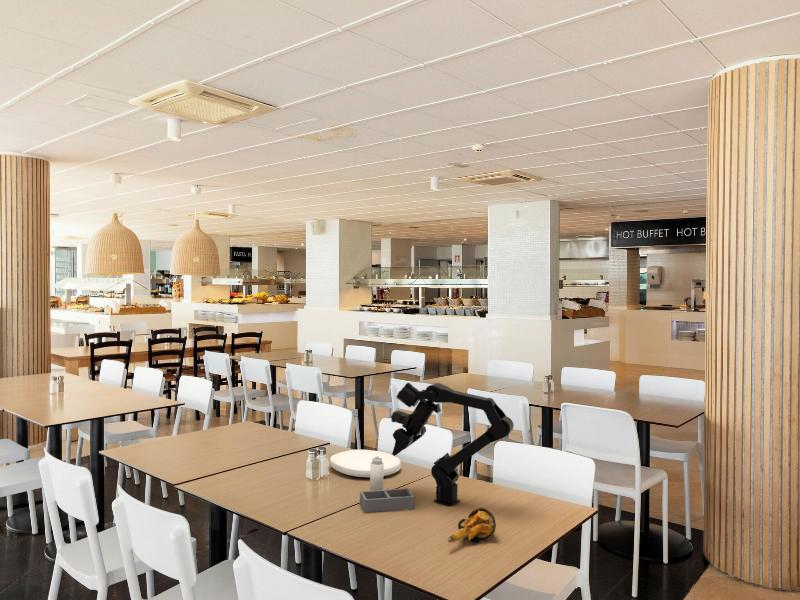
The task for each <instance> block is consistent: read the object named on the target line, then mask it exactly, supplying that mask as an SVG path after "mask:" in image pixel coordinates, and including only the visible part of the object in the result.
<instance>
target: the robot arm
mask: <svg viewBox="0 0 800 600" xmlns="http://www.w3.org/2000/svg"><path fill="white" fill-rule="evenodd" d="M396 399H397V400H398V401H400V402H401V403H402V404H403V405H405V406H407V408H409V409H410V408H411V407H413V408H414V407H415V408H414V409H413V411H412V413H407V412H406V411H401V410H394V411H393V412H392V413H391V415H390V418H391V420H390V421H391V422H392V423H396V424H400V425H401V428H397V429H395V430H394V432H393V433H392V437H393V439H394V441H395V442H394V447H393V449H392V452H391V453H392V454H391V455H393V456H397V455H398V454H399V453H401V452H402V451H404V450H406V449H407V448H408V447H410V446H411V445H413V444H414V443H415V442H416V441H418V440H420V439H421V438H422V437H423V436H424V435H425V434H426V433H427V428H426V425H427V424H428V423H429V419H430V417H431V416H432V414H433V412H434V413H436V414H439V413H440V412H441V410H442V409H441V407H440V403H451V404H456V405H459V406H460V405H461V406H464V407H469V408H472V409H473V408H474V409H477V410H482V411H483V412H484V414H485V415H486V417H487V420H488V422H489V424H490V426H489V427H488V429H486V431H485V432H484V433H482V434H481V435H479V436H478V437H476V438H475V439H474V440H473V441H471V442H470V443H468V444H467V445H466V446H464V447H463V448H461V449H460V450H458V451H457V452H456V453H453V454H452V455H450V453H449V452H446V453H445V454H444V455H443V456H442V457H439V458H437V460H435V461H434V462H433V466H431V468H430V469H431V470H430V472H431V476H432V478H433V479H434V480H435V483H436V486H435V494H436V495H435V499H434V500H433V502H434V503H438V504H441V505H444V506H448V507H449V506H453V505H455V504H457V503H459V502H460V501H461V499H459V498H458V489H459V488H458V484H457V483H456V482H458V480H459V478H460V475H459V473H458V472H457V471H456V469H457V467H458V466H459V465H461V464H462V463H463V462H465V461H467V460H469V458H471V457H472V456H474V455H475V454H476V453H478V452H479V451H481V450H483V449H484V448H485V447H487V446H488V445H489V444H491V443H494V442H497V441H499V440H501V439H503V438H506V437H508V435H510V434H511V432H512V431H513V430H514V426H515V425H514V422H513V420H512V419H511V418H510V417H509V416H507V415H506V413H505V411H503V409H502V408H501V407H500V406H498V404H497V403H496V401H495V400H494V398H492V397H485V396H480V395H476V394H472V393H471V394H470V393H467V392H462V391H457V390H455V389H452V388H451V387H449V386H448V385H445V384H442V383H439V382H434V383H432V384H430V385H428V386H426V388H425V389H422V390H419V389H418V388H417V387H415V386H414V385H413V384H411V383H410V382H406V383H405V385H404V386H403V387H402V388H401V389H400V390H398V393H397V395H396Z"/></svg>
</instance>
